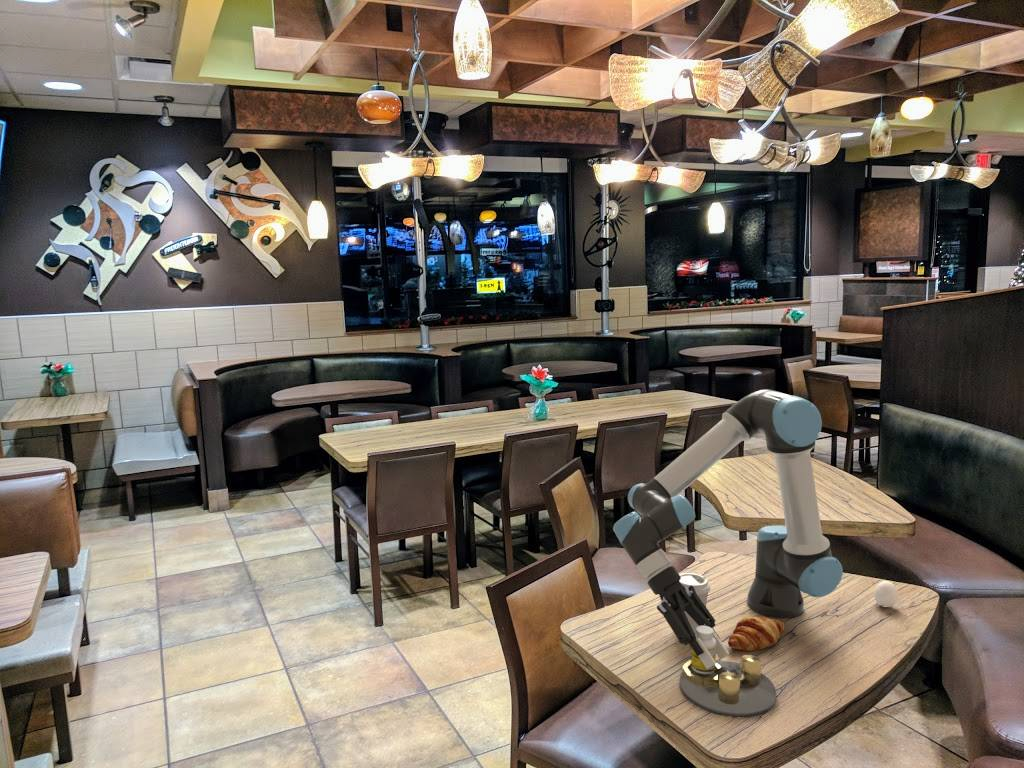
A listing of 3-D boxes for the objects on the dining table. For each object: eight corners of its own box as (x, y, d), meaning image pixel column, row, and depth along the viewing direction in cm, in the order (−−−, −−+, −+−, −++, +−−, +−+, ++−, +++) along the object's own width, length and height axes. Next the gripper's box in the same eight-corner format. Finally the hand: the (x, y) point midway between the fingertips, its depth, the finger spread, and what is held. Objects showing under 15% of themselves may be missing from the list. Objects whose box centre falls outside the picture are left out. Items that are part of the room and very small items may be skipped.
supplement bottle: (687, 663, 176) (689, 624, 174) (710, 662, 176) (712, 623, 175) (695, 675, 170) (697, 635, 169) (718, 674, 171) (720, 634, 169)
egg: (868, 603, 214) (870, 578, 213) (886, 601, 216) (888, 576, 215) (883, 612, 209) (885, 586, 207) (901, 610, 210) (904, 584, 209)
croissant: (771, 638, 201) (762, 608, 203) (802, 635, 193) (792, 603, 195) (720, 660, 189) (710, 628, 191) (751, 657, 181) (740, 624, 183)
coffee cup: (709, 643, 191) (711, 588, 188) (671, 640, 193) (673, 585, 190) (707, 626, 200) (709, 573, 198) (670, 623, 202) (672, 570, 200)
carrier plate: (750, 663, 181) (752, 638, 180) (793, 714, 161) (795, 686, 160) (667, 668, 179) (668, 643, 178) (699, 720, 158) (700, 692, 157)
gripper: (669, 569, 188) (726, 653, 179) (627, 591, 174) (686, 683, 166) (689, 554, 183) (748, 640, 175) (647, 576, 170) (709, 670, 161)
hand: (718, 661), depth 170 cm, fingers closed on supplement bottle, 5 cm apart
